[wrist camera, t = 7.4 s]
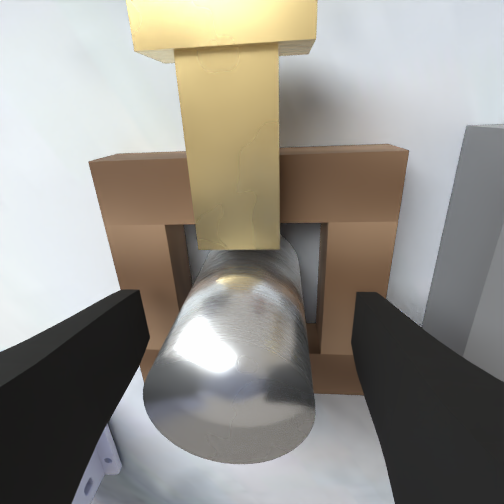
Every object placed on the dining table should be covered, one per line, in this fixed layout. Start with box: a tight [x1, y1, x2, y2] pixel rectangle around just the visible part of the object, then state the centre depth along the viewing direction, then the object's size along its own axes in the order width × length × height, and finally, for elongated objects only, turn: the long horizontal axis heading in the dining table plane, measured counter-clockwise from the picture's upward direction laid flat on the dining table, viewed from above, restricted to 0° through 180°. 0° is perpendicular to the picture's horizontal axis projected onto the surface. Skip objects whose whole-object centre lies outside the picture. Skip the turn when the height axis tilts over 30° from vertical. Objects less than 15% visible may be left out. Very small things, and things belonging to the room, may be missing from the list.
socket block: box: [89, 144, 409, 395], centre depth 13 cm, size 10×10×2 cm
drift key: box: [126, 0, 317, 250], centre depth 8 cm, size 6×4×2 cm, turn 2°
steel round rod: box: [143, 235, 315, 464], centre depth 10 cm, size 4×4×7 cm
